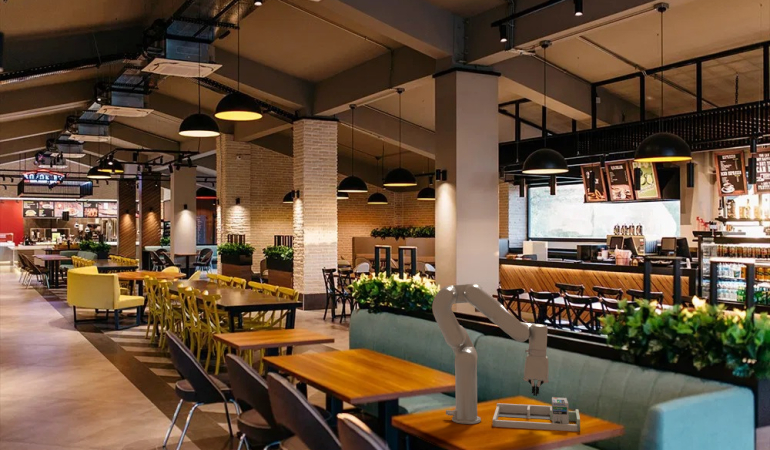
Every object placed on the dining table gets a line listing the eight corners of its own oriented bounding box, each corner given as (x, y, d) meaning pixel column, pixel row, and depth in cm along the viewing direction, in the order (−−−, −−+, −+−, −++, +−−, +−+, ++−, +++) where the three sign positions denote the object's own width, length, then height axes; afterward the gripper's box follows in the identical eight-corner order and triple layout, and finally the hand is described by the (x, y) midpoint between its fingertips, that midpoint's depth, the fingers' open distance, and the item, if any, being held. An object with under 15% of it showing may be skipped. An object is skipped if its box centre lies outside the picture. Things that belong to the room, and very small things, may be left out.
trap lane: (492, 426, 292) (492, 414, 292) (497, 411, 316) (497, 401, 316) (580, 431, 283) (580, 419, 283) (577, 416, 308) (577, 405, 308)
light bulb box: (569, 428, 288) (568, 403, 288) (552, 428, 289) (552, 402, 289) (567, 422, 298) (567, 397, 298) (551, 421, 299) (551, 396, 300)
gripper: (519, 352, 295) (517, 395, 294) (555, 356, 291) (552, 399, 291) (520, 350, 302) (518, 391, 302) (555, 353, 298) (552, 395, 298)
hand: (535, 395), depth 296 cm, fingers closed
